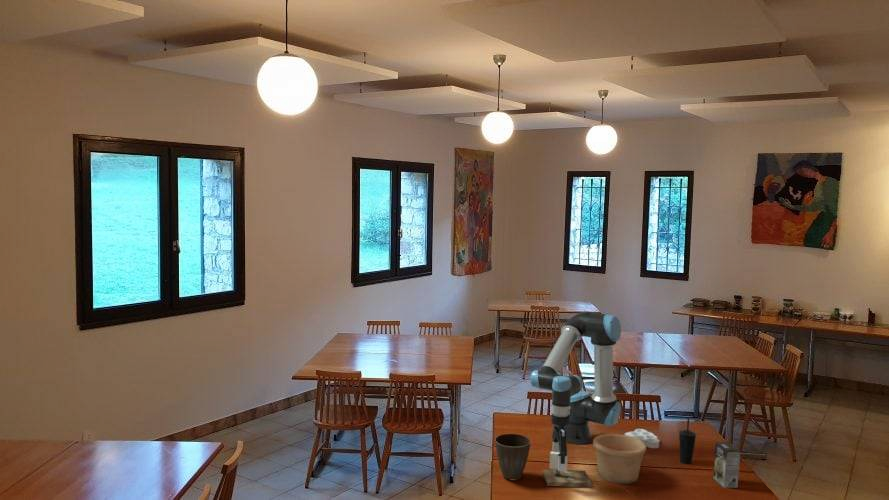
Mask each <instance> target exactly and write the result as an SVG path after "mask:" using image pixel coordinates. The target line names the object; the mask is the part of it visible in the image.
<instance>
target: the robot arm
mask: <svg viewBox="0 0 889 500" xmlns="http://www.w3.org/2000/svg"><path fill="white" fill-rule="evenodd" d="M621 325H622V324H621V321H620V319H619V318H618V317H617V316H615V315H611V314H607V313H599V312H590V311H582V312H578V313H576V314H574V315H573V316H571V317H570V318H569V319H568V320H567V321H566V322H565V323H564V324H563V326H562V328H561V334H560V335H559V337H558V339H557V341H556V342H555V344H554V346H553V347H552V349H551V351H550V353H549V355H548V356H547V358H546V359H545V362H544V363H543V364H542V366H541V369H540V370H539V369H537V370H536V369H534V370H533V371H532V372H531V374H530V376H529V377H530V379H529V381H530V385H531V386H532V387H533V388H537V389H540V390H546V391H551V392H552V393H551V397H552V398H551V409H550V411H551V414H550V415H551V416H550V417H551V419H550V421H551V424H552V425H553V428H552V434H551V439H552V451H553V452H559V453H560V454H558V456H559V464H558V471H565V464H566V456H567V454H568V448H567V447H568V446H567V445H568V444H567V443H568V442H570V443H569V444H572V443H574V445H585V444H589V443H591V441H592V434H591V433H592V432H591V430H590V426H589V422H590V423H594V424H595V423H596V424H599V425H604V426H608V427H609V426H610V427H613V426H615V425H616V424H617V422H618V421H619V418H620V416H621V412H622V411H621V410H622V404H621V403H620V402H619V401H617V396H616V394H614V347H615V345H616V344H617V342H619V340H620V338H621V336H622V335H621V334H622V326H621ZM583 337H587V338H590V344H592V345H593V348H594V349H593V350H594V351H593V361H594V362H593V363H594V367H593V368H594V370H593V371H594V373H593V374H594V377H593V378H594V381H593V382H594V392H593V393H592V394H590V392H588V391H585V390H583V388H584V381H583V379H582V378H581V377H580V376H579V375H577V374H573V375H564V374H559V372H561V369H562V368H563V366H564V365H565V362H566V360H567V358H568V357H569V355H570V353H571V352H572V349H573V348H574V346H575V344H576V343H577V342H579V341H580V340H581V338H583ZM566 441H567V442H566Z"/></svg>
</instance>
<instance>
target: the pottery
mask: <svg viewBox="0 0 889 500" xmlns="http://www.w3.org/2000/svg"><path fill="white" fill-rule="evenodd" d="M592 446H593V447H594V448H595V452H596V464H597V475H599V477H600V478H601V479H603V480H605V481H606V482H610V483H614V484H618V485H619V484H621V485H622V484H623V485H626V484H628V485H629V484H633V483H635V482H637V481H638V479H639V475H640V469H641V467H642V466H641V464H642V460H643V456H644V454H645V453H646V451H647V446H646V445H645V444H644V443H643V442H642V441H641V440H639V439H636V438H634V437H630V436H627V435H624V434H620V433H619V434H618V433H604V434H599V435H596V436H595V437H594V438H593V439H592Z"/></svg>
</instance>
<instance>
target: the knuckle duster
mask: <svg viewBox="0 0 889 500" xmlns="http://www.w3.org/2000/svg"><path fill="white" fill-rule="evenodd" d="M623 435H627V436H630V437H634V438H636V439H639V440H641V441H642V442H643V443H644V444H645V445H646V448H650V449H658V448H659V447H660V441H661V440H660V439H658V436H657V435H655V434H654V433H653V432H650V431H648V430H646V429H644V428H636V429H634V431H628V432H625V433H624V434H623Z"/></svg>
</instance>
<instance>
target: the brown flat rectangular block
mask: <svg viewBox="0 0 889 500" xmlns="http://www.w3.org/2000/svg"><path fill="white" fill-rule="evenodd" d="M561 473H564V474H571V475H575V477H571V476H564V475H561ZM543 475H544V477H543V479H544V478H545V479H544V482H545V481H546V482H545V484H546V483H547V485H546V486H565V487H564V488H585V489H586V488H590V489H591V488H592V481H591V480H590V478H589V475H588V474H587V472H586V470H575V469H573V470H572V469H571V470H570V469H567V471H560V475H556V469H542V476H543Z"/></svg>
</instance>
